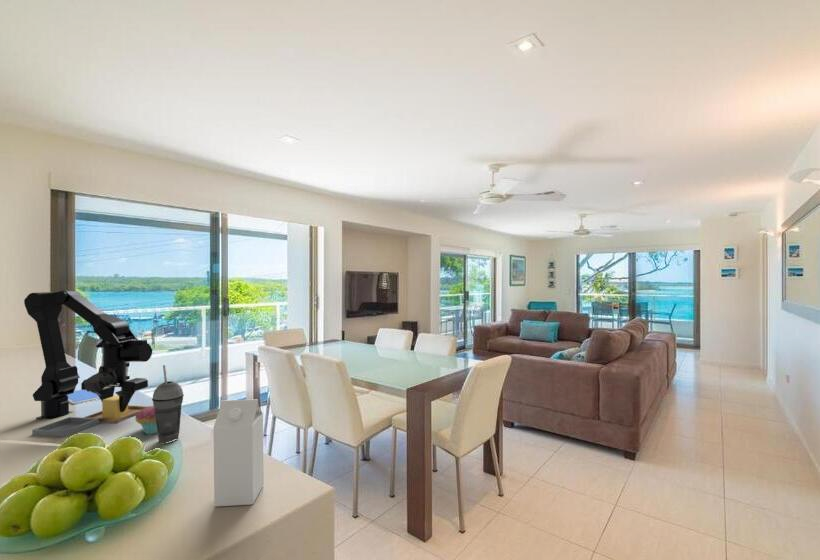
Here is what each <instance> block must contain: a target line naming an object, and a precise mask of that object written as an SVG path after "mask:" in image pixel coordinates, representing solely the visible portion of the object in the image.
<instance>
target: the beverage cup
mask: <svg viewBox="0 0 820 560" xmlns="http://www.w3.org/2000/svg"><path fill="white" fill-rule="evenodd" d="M162 369H163V379H164V382H162V383H161V384H159V385H158V386H157V387H155V389H154V390H153V394H152V398H151V401H152V404H153V405H152V406H154V408H155V415H156V424H157V433H156V434H157V437H158V443H159V444H162V443H166V442H169V441H172V440H174V439H178V440H179V436H180V428H181V415H182V406H183V405H182V403H183V402H184V396H185V395H184V391H183V388H182V386H181V385H180V384H179V383H177V382H175V381H170V380H169V381H168V377H167V369H166V365H164V364H163V365H162ZM166 444H167V443H166ZM162 445H163V444H162Z"/></svg>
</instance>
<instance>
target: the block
mask: <svg viewBox="0 0 820 560" xmlns="http://www.w3.org/2000/svg"><path fill="white" fill-rule="evenodd" d="M101 404H102V405H101V406H102V410H101V411H102V415H103V418H114V419H115V418H118V417H120V416H123V415H126V414H128V405H129V404H128V405H127V407H126V409H125V411H124V412H120V404H119V396H118V395H114V396H113V397H110V398H107V399H104V400H102V401H101Z"/></svg>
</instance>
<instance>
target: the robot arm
mask: <svg viewBox="0 0 820 560" xmlns="http://www.w3.org/2000/svg"><path fill="white" fill-rule="evenodd" d="M23 303H24V307H25V309H26V312H27V315H28V316H30V317H31V318H32V319H33V320H34V321H35V322H36V326H37V330H38V335H39V341H40V344H41V350H42V355H43V358H44V364H45V369H44V370H43V372H42V375H41V385H40V386H39V387H38V388H37V390H35V391H34V393H32V397H33V400H34V402H40V403H41V404H40V406H41V407H40V408H41V409H40V411H41V413H40V414H41V415H40V416H37V417H35V420H43V419H45V420H54V419H57V418H60V417H63V416H67V415H70V414H72V413H73V411H69V410H70V408H69V407H70V405H69V403H70V402H69V401H68V396H67V395H68V394H72V393H74V391H76V387H77V385H78V384H79V379H80V375H79V373H78V366H76V365H73V366H71V365H70V364H69V362H67V356H66V352H65V348H64V341H63V338H62V333H61V327H60V323H59V317H60V315H61V312H62V310H63V306H65V307H66V308H68V309H69V310H71V311H72V312H73V313H75V314H76V315H77V316H79V317H81V318H82V319H83V320H84V321H86V322H87V323H89V324H90V325H91V327H92V328H93V333H95V334H96V336H98V337H99V338H100V339H101V341H100V342H98V344H96V345H95V347H96V348H97V349H98V348H99V349H101V348H102V365H101V366H99V367H98V372H97V373H95V374H93V375H91V376H90V377H88V378H86V379H83V381H82V382H81V384H80V385H81V386H80V390H87V391H88V392H89V391H91V392H92V393H95V394H97V395H98V396H99V398H100V399H99V400H100V401H101V402H102V400H104V399H107V398H110V397H113V395H114V394H115V395H116V396H119V404H120V412H124V411H125V409H126V407H127V405H129V403H130V401H131V399H132V398H133V396H134V395H135V393H136V392H137V391H139V390H143V389H145V388H148V387H149V380H148V379H147V378H145V377H135V378H132V379H131V376H130V375H127V367H130V362H132V363H133V362H134V363H135V362H139V363H140V362H141V363H144V362H148V361H149V360H150V359H151V358H152V355H153V348H152V345H150V343H148V339H147V338H145V339H144V338H143V339H139V338H138V337H137V336H136V335H135V333H134V332H133V330H132V329H131V327H130V324H129V323H128V322H127V321H125V320H124V319H122V318H120V317H117V316H114V315H110V314H107V313H105V312H104V311H103V310H102V309H100V308H99V307H98V306H96V305H95V304H94V303H92V302H91V301H89V299H86V298H85V297H84V296H83V295H81V293H80V292H79V291H77V290H76V289H71V290H68V289H67V290H65V289H62V290H60V291H55V292H54V291H46V292H45V291H43V292H31V293H29V294H28V295H27V296H26V297H25V298H24V301H23ZM115 388H120V390H119V391H118V390H117V391H115ZM115 395H114V396H115Z"/></svg>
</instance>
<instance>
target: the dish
mask: <svg viewBox="0 0 820 560" xmlns="http://www.w3.org/2000/svg"><path fill="white" fill-rule="evenodd" d="M99 424H100V422H99V419H97V418H83V417H81V416H80V417H79V416H68V417H65V418H63V419H59V420H56V421H54V422H51V423H49V424H48V423H47V424H45V425H43V426H42V425H41V426H39V427H36V428H34V429H32V431H31V436H41V437H51V438H52V437H53V438H65V437H68V436H71V435H73V434H75V433H78V432H81V431H83V430H86V429H89V428H91V427H94V426H96V425H99Z"/></svg>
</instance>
